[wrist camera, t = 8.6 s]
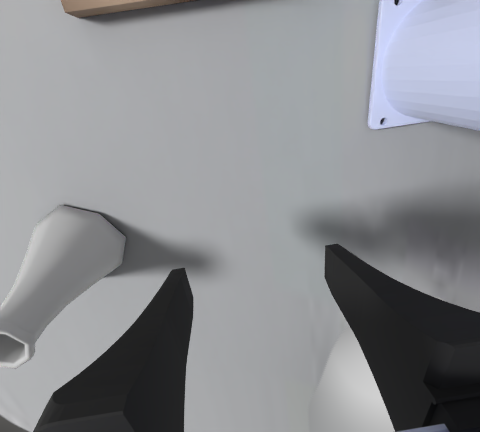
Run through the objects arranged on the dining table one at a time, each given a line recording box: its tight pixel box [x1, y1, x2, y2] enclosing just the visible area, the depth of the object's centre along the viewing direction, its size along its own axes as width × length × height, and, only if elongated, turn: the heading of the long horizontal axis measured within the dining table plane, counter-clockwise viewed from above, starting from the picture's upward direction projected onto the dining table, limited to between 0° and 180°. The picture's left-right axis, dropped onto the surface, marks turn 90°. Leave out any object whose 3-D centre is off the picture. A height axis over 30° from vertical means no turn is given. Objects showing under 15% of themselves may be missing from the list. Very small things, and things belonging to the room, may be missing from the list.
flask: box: [0, 205, 126, 369], centre depth 18 cm, size 7×7×10 cm
